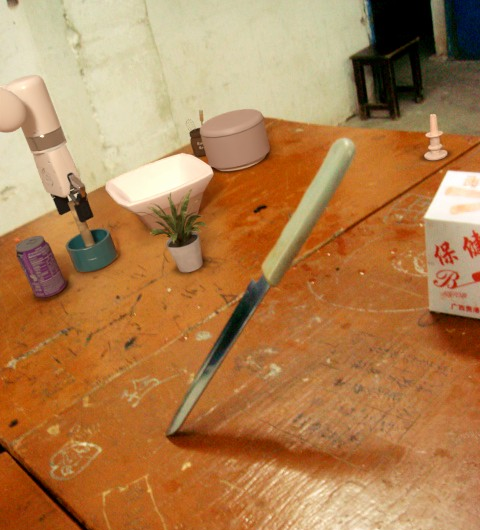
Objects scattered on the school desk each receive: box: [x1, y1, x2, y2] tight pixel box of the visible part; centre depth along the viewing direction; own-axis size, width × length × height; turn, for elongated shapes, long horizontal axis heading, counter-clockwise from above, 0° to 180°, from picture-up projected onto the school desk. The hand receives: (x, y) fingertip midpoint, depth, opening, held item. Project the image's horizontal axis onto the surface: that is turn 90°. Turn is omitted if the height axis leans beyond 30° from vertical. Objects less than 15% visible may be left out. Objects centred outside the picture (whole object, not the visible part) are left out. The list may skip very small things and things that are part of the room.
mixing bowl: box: [64, 227, 119, 273], centre depth 144 cm, size 10×10×6 cm
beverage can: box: [14, 235, 67, 298], centre depth 136 cm, size 7×7×12 cm
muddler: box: [68, 199, 95, 248], centre depth 142 cm, size 4×4×15 cm
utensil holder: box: [185, 109, 206, 157], centre depth 191 cm, size 6×6×12 cm
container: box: [199, 108, 271, 172], centre depth 177 cm, size 18×18×12 cm
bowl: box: [104, 152, 214, 231], centre depth 155 cm, size 24×25×11 cm
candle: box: [423, 113, 448, 161], centre depth 148 cm, size 5×5×10 cm
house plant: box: [130, 189, 208, 273], centre depth 128 cm, size 14×14×16 cm
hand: (76, 216), depth 140 cm, fingers open, 9 cm apart
